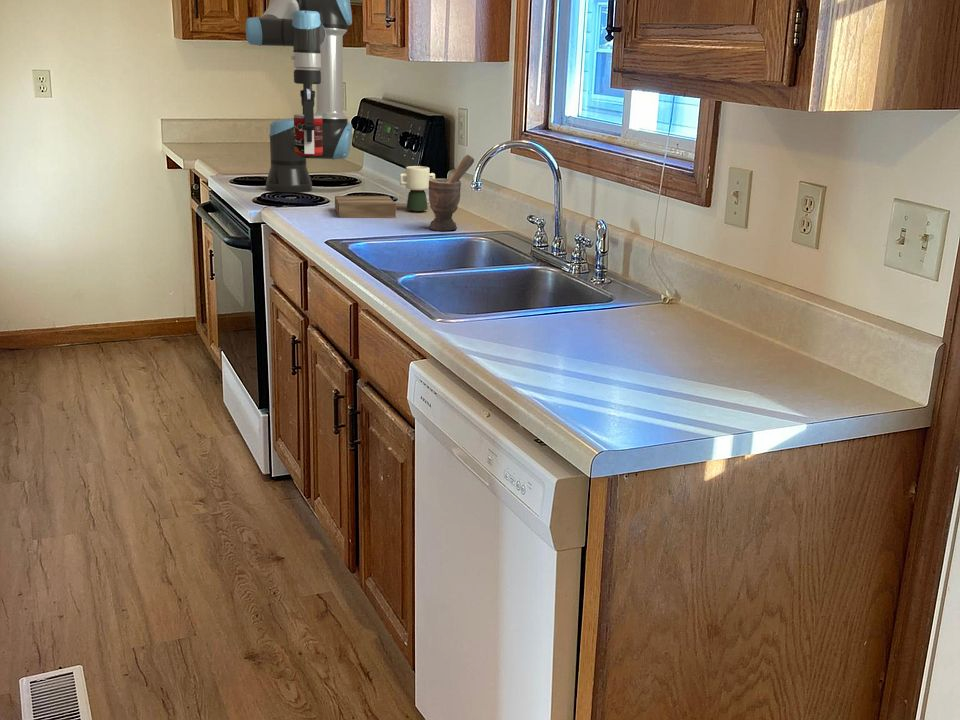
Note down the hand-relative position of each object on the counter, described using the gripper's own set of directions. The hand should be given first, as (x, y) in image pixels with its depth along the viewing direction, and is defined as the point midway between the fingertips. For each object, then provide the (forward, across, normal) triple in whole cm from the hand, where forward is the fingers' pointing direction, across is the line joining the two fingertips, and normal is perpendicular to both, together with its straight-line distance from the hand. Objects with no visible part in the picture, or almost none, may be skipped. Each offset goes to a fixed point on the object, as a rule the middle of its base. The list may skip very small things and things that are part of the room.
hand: (308, 152), depth 287 cm
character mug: (+17, -1, +32) cm, 36 cm away
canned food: (+1, 0, 0) cm, 1 cm away
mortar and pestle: (+17, +30, +36) cm, 50 cm away
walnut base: (+17, +3, +16) cm, 23 cm away
